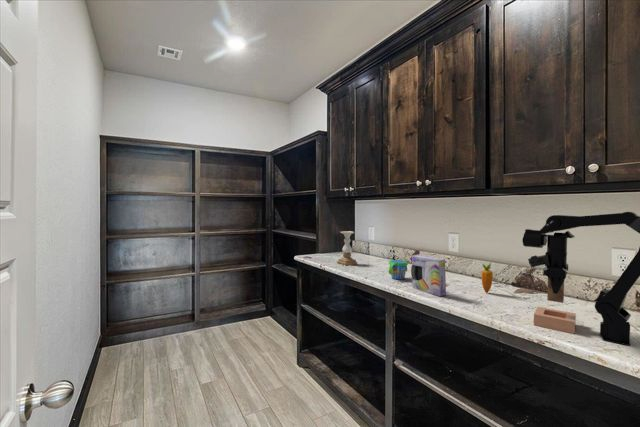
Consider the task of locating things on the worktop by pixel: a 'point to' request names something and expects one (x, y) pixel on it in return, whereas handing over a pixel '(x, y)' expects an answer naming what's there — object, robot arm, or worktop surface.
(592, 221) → the robot arm
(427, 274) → the cake pan box
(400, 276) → the snack cup
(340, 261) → the candle holder
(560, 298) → the walnut peg
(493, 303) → the worktop surface
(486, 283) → the carrot
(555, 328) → the frame
